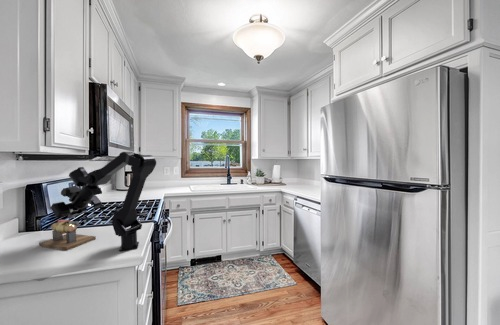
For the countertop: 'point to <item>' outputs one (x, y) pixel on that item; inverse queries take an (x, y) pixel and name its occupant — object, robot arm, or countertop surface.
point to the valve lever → (69, 222)
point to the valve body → (64, 231)
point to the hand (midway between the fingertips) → (69, 217)
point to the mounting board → (66, 246)
